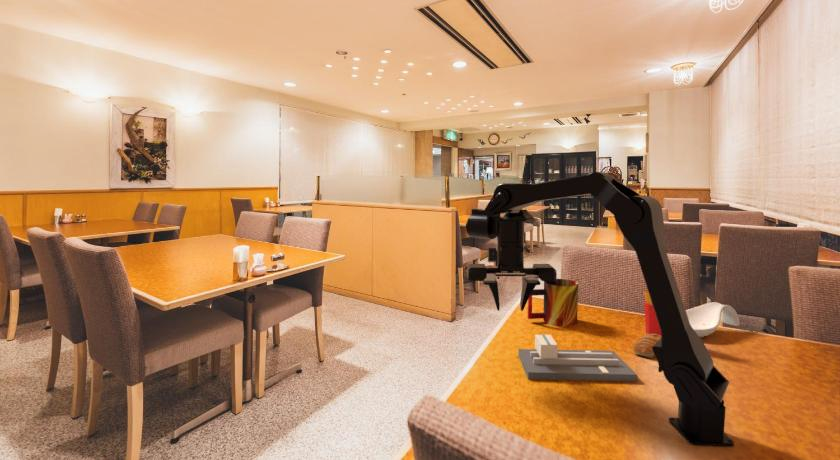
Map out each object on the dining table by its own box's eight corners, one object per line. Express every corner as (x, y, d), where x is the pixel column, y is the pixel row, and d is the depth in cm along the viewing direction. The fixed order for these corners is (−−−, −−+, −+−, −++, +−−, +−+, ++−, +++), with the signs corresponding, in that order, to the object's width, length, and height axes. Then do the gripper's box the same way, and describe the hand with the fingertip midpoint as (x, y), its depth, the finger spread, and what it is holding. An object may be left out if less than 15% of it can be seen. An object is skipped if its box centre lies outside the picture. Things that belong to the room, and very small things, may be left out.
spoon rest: (699, 345, 98) (700, 318, 98) (655, 330, 109) (656, 305, 108) (753, 331, 108) (755, 305, 107) (707, 318, 118) (709, 295, 118)
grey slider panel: (636, 381, 80) (637, 369, 80) (528, 379, 82) (528, 366, 81) (612, 356, 92) (613, 345, 92) (518, 355, 94) (518, 344, 93)
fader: (557, 365, 84) (557, 344, 83) (540, 365, 84) (541, 344, 84) (550, 354, 90) (550, 334, 89) (534, 353, 90) (535, 334, 90)
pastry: (656, 362, 89) (657, 346, 88) (625, 354, 94) (626, 338, 94) (671, 351, 95) (671, 336, 95) (641, 343, 100) (641, 329, 100)
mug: (526, 322, 117) (526, 283, 116) (558, 314, 124) (559, 277, 123) (551, 331, 109) (552, 289, 107) (584, 323, 115) (585, 283, 114)
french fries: (684, 345, 98) (687, 295, 96) (676, 349, 95) (678, 297, 94) (646, 334, 105) (649, 287, 104) (638, 337, 103) (640, 290, 102)
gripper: (545, 236, 92) (544, 300, 94) (466, 236, 94) (466, 299, 95) (558, 242, 81) (556, 315, 83) (468, 242, 83) (468, 314, 84)
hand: (509, 310), depth 87 cm, fingers open, 5 cm apart
